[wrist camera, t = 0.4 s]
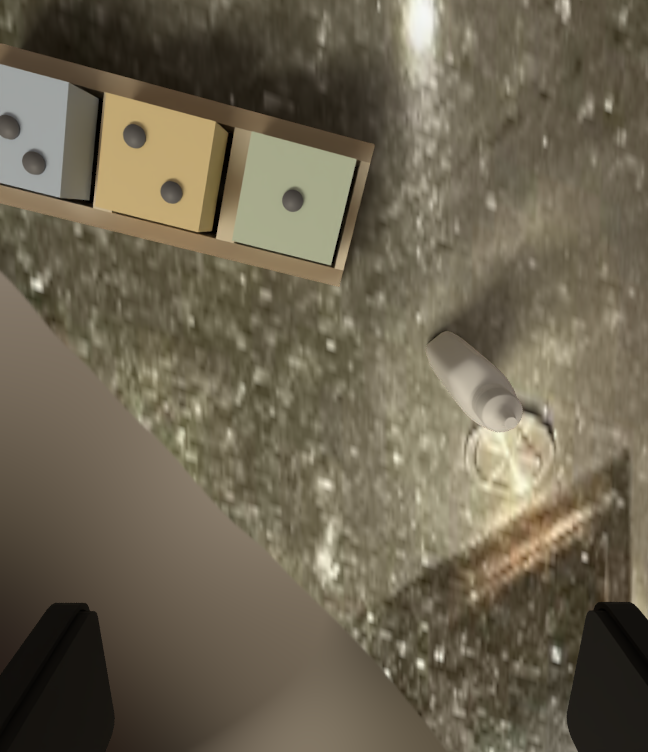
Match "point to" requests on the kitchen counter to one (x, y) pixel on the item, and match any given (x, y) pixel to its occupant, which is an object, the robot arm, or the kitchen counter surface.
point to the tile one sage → (292, 198)
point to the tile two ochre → (160, 164)
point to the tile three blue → (46, 134)
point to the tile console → (241, 127)
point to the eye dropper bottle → (474, 383)
